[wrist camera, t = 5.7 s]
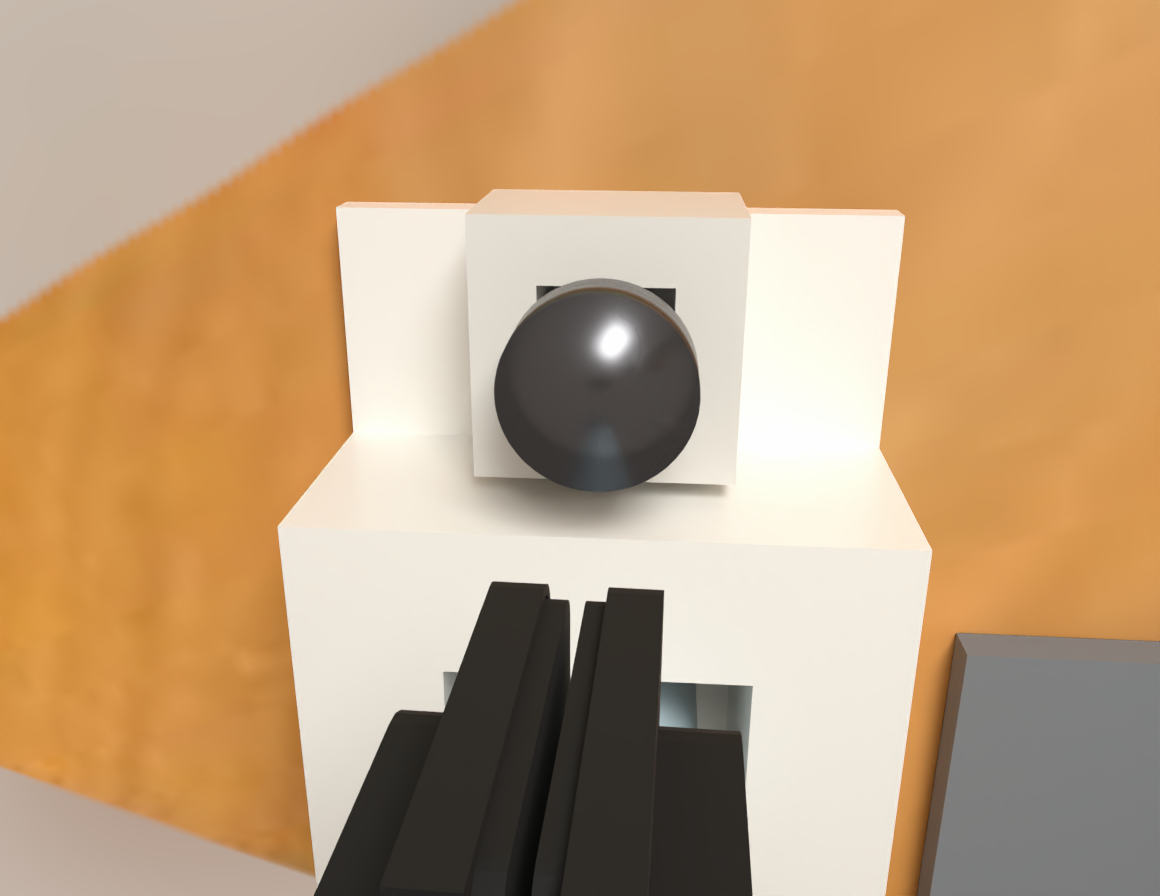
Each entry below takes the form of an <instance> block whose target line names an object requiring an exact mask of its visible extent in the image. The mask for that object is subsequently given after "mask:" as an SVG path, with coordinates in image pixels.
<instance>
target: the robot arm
mask: <svg viewBox="0 0 1160 896" xmlns="http://www.w3.org/2000/svg"><path fill="white" fill-rule="evenodd" d="M663 614H664V590H653V589H634V588H615V587H609V588H608V592H607V599H606V602H599V601H586V602H585V607H584V612H583V617H582V622H581V628H580V633H579V638H578V643H577V648H576V654H575V659H574V664H573V669H572V675H571V680H570V602H569V600H562V599H550V589H549V585H548V584H537V583H518V582H499V581H493V582H492V583H491V585H490V586H489V589H488V592H487V595H486V597H485V600H484V603H483V606H482V608H481V611H480V614H479V616H478V619H477V622H476V625H475V627H474V630H473V633H472V635H471V638H470V641H469V644H468V646H467V649H466V652H465V655H464V657H463V660H462V663H461V665H460V668H459V671H458V674H457V676H456V679H455V682H454V685H453V687H452V690H451V693H450V695H449V698H448V701H447V704H446V706H445V709H444V712H430V711H415V710H399V711H398V712H396V713H395V714H394V716H393V718H392V720H391V721H390V723H389V725H388V728H387V730H386V732H385V734H384V737H383V739H382V741H381V743H380V746H379V748H378V750H377V753H376V755H375V757H374V759H373V762H372V764H371V766H370V769H369V771H368V773H367V775H366V778H365V780H364V782H363V785H362V787H361V789H360V791H359V794H358V796H357V798H356V800H355V803H354V805H353V807H352V810H351V812H350V814H349V816H348V819H347V821H346V823H345V826H344V828H343V830H342V832H341V835H340V837H339V839H338V842H337V844H336V846H335V848H334V851H333V853H332V855H331V857H330V860H329V862H328V864H327V867H326V869H325V871H324V873H323V876H322V878H321V880H320V883H319V885H318V887H317V890H316V892H315V894H314V896H753V893H752V878H751V863H750V848H749V833H748V817H747V802H746V787H745V772H744V757H743V743H742V735H741V732H740V731H729V730H713V729H697V728H682V727H666V726H659V723H660V696H661V668H662V641H663Z"/></svg>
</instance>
